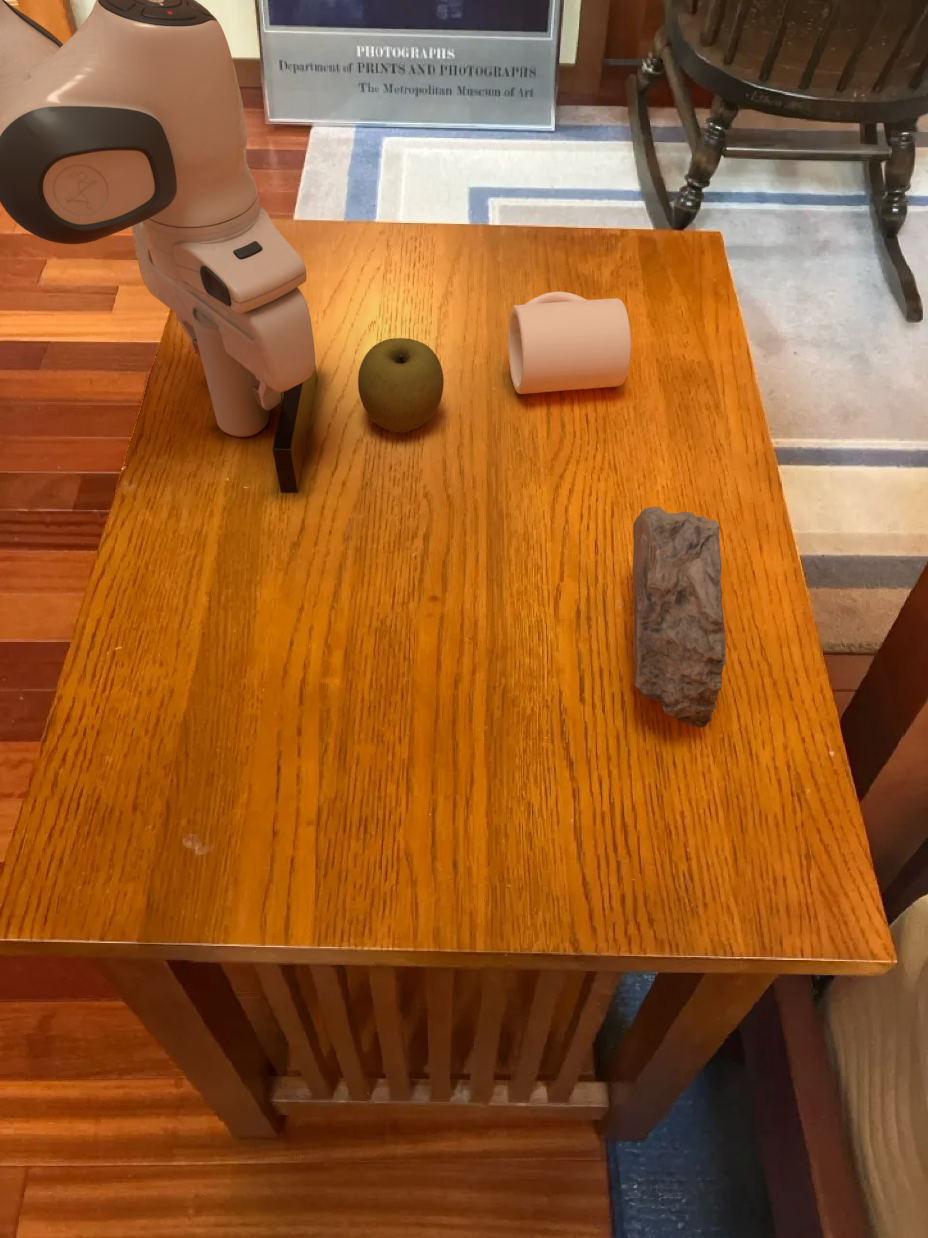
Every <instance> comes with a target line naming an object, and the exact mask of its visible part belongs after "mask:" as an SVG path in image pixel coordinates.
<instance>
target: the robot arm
mask: <svg viewBox="0 0 928 1238" xmlns="http://www.w3.org/2000/svg"><path fill="white" fill-rule="evenodd" d="M223 29H224V28H223V27H222V25H221V23H220V22H219V21H218V18H216V16H214V15H213V14H212V13H211V12H210V11H209V10H208V9H207V8H206V7H205V6H203V5H202V4H201V3H200V2H199V1H197V0H95V2H94V5H93V7H92V10H91V11H90V12H89V15H88V16H87V17H86V18H85V20H84V21H83V22H82V24H81V25H80V27H78V28H77V30H76V31H75V32H74V33H73V35H72V36H71V37H70V38H68V40H67V41H65V42H64V43H63V42H62V41H61V40H60V39H59V38H58V37H56V36H55V34H53V33H52V32H50V31H49V30H48V29H46V28H45V27H44V26H42V25H41V24H40V23H38V22H37V21H35V20H34V19H32V18H31V17H29V16H28V15H27V14H24V13H23V12H21V11H20V10H19V9H17V8H16V7H14V6H13V5H11V4H10V3H9V2H8V1H6V0H0V204H1V206H2V208H3V209H4V211H5V213H7V214H8V215H9V217H10V218H11V219H12V220H13V221H14V222H15V223H17V225H19V226H20V227H21V228H22V229H24V230H25V231H27V232H28V233H30V234H32V235H34V236H36V237H38V238H40V239H42V240H46V241H48V242H52V243H56V244H62V245H63V244H64V245H81V244H88V243H91V242H96V241H98V240H99V241H100V240H101V239H105V238H106V237H110V236H112V235H115V234H117V233H120V232H121V231H124V230H127V229H129V228H131V231H132V239H133V245H134V250H135V251H134V252H135V256H136V260H137V265H138V268H139V269H138V270H139V273H140V276H141V279H142V282H143V284H144V285H145V288H146V289H147V290H148V292H149V294H150V295H152V296H153V297H154V298H156V299H157V300H158V301H159V302H161V303H162V304H164V305H165V306H166V307H167V308H168V309H170V310H171V311H172V312H174V313H175V316H176V318H177V320H178V322H179V324H180V325H181V327H182V328H183V331H184V332H185V334H186V336H187V337H188V339H189V344H190V347H191V350H192V352H193V353H194V354H196V355H197V356H198V357H200V358H201V355H200V351H199V347H198V343H197V339H196V335H195V331H194V327H193V322H192V317H193V316H192V309H193V307H194V308H195V310H196V311H198V312H199V313H201V314H202V315H203V316H204V317H206V318H207V319H209V320H210V321H211V322H212V323H214V324H215V325H218V326H219V328H218V330H219V332H220V333H221V336H222V341H223V346H224V349H225V351H226V353H227V354H229V355H230V356H231V357H233V358H234V359H235V360H236V361H238V362H239V363H240V364H241V365H243V366H244V367H245V368H247V369H248V370H249V371H250V372H252V373H253V374H254V375H255V376H256V379H257V380H258V381H260V384H259V385H257V386H255V387H253V393H254V395H255V401H256V402H257V403H258V404H259V405H261V406H262V407H263V408H264V409H266V410H269V411H270V410H273V409H274V408H277V407H278V406H280V404H282V399H283V398H282V394H281V393H284V392H285V391H287V390H289V389H291V388H293V387H295V386H297V385H299V384H300V383H302V382H303V381H305V380H307V379H308V378H309V377H310V376H311V375H312V373H313V372H314V370H315V364H316V352H315V351H316V350H315V341H314V340H315V339H314V333H313V332H314V331H313V325H312V320H311V313H310V309H309V306H308V303H307V301H306V297H305V295H304V294H303V292H302V290H300V288H299V287H300V286H302V285H303V284H304V283H307V279H308V278H307V276H308V275H307V269H306V264H305V261H304V259H303V258H302V256H301V255H300V254H299V253H298V252H297V250H296V249H294V247H293V246H292V244H290V242H288V240H287V239H286V238H285V237H284V236H283V235H282V234H281V232H280V231H279V230H278V228H277V227H276V225H275V224H274V222H273V221H272V219H271V218H270V215H269V214H268V212H267V210H266V209H265V208H264V207H263V206H262V205H261V206H260V200H259V194H258V188H257V184H256V180H255V178H254V176H253V174H252V172H251V169H250V168H249V167H250V166H249V164H248V160H247V147H248V145H247V144H248V126H247V121H246V115H245V109H244V104H243V98H242V94H241V89H240V85H239V80H238V76H237V72H236V68H235V62H234V60H233V59H234V58H233V56H232V53H231V49H230V45H229V42H228V39H227V37H226V34H225V31H224V30H223Z"/></svg>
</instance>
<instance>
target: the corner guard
mask: <svg viewBox="0 0 928 1238" xmlns="http://www.w3.org/2000/svg"><path fill="white" fill-rule="evenodd" d="M317 382H318V373H317V365H316V363H315V370H314V372H313V373H312V375H311V376H310V377H309V378H308V379H307V380H305V381H303V382H302V383H300V384H299V385H297V386H295V387H293V388H291V389H289V390H287V391H285V392H283V395H282V398H281V399H282V400H281V403H280V404H281V405H280V409H279V415H278V419H277V424H276V429H275V434H274V439H273V444H272V449H271V450H272V455H273V458H274V459H273V460H274V466H275V470H276V475H277V480H278V485H279V491H280V493H298V492H299V488H300V481H301V476H302V471H303V470H302V469H303V464H304V458H305V451H306V446H307V442H308V441H307V440H308V436H309V429H310V424H311V423H310V422H311V417H312V411H313V406H314V400H315V394H316V387H317Z"/></svg>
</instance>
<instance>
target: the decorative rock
mask: <svg viewBox="0 0 928 1238" xmlns="http://www.w3.org/2000/svg"><path fill="white" fill-rule="evenodd" d="M632 538H633V545H632V548H633V552H632V596H633V597H632V599H633V602H632V603H633V626H632V627H633V629H632V631H633V632H632V639H633V640H632V645H633V646H632V651H633V653H632V657H633V658H632V660H633V661H632V662H633V665H634V675H633V685H634V687H635V688H636V689H637V691H638V692H639V693H640V695H641V696H642V697H643V698H645V699H647V700H653V701H656V702H658V703H659V704H660V705H661V707H662V710H663V712H664V713H665V714H667V715H668V716H669V717H673V718H676V719H678V721H679V722H681V723H683V724H686V725H688V726H690V727H696V728H699V729H704V728H707V726H708V724H709V723H710V722H712V720H713V716H712V715H713V712H714V711H715V710H716V708H717V707H716V706H717V700H718V696H719V692H720V690H721V689H722V688H723V687H722V685H723V671H724V666H725V664H726V657H727V653H726V652H727V650H726V635H725V634H726V633H725V631H726V630H725V619H724V610H723V592H722V591H723V589H722V581H721V580H722V579H721V575H722V556H721V545H720V542H721V541H720V522H718V521H716V519H715V520H714V519H713V520H712V519H709V518H706V517H705V516H702V515H700V516H699V515H696V514H695V513H694V512H690V511H681V512H667V511H665V510H664V509H663V508H662V507H661V506H656V505H655V506H651V507H646V508H645V507H644V508H643V509H642V510H641V511H640V513H639V515H637V517H636V518H635V520H634V521H633V526H632Z"/></svg>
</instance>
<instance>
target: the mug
mask: <svg viewBox="0 0 928 1238" xmlns="http://www.w3.org/2000/svg"><path fill="white" fill-rule="evenodd" d="M507 326H508V327H507V348H508V349H507V350H508V351H507V352H508V362H509V363H508V364H509V371H510V376H511V381H512V385H513V388H514V391H515V392H516V393H517V394H519V395H523V394H524V395H525V394H536V393H548V392H549V393H550V392H562V391H563V392H564V391H575V390H577V391H578V390H587V389H588V390H589V389H599V388H613V387H620V386H622V385H623V384H624V383H625V381H626V379H627V377H628V373H629V369H630V365H631V364H630V363H631V356H632V335H631V334H632V333H631V324H630V318H629V315H628V311H627V308H626V306H625V304H624V302H623V301H622V300H621V299H620V298H618V297H614V298H613V297H612V298H597V299H586V298H584V297H583V296H580V295H579V294H575V293H572V292H567V291H551V292H546V293H543V294H540V295H538V296H535V297H534V298H532V299H530V300H529V301H527V302H526V303H524V304H515V305H513V306H512V307H511V310H510V312H509V318H508V325H507Z"/></svg>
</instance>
